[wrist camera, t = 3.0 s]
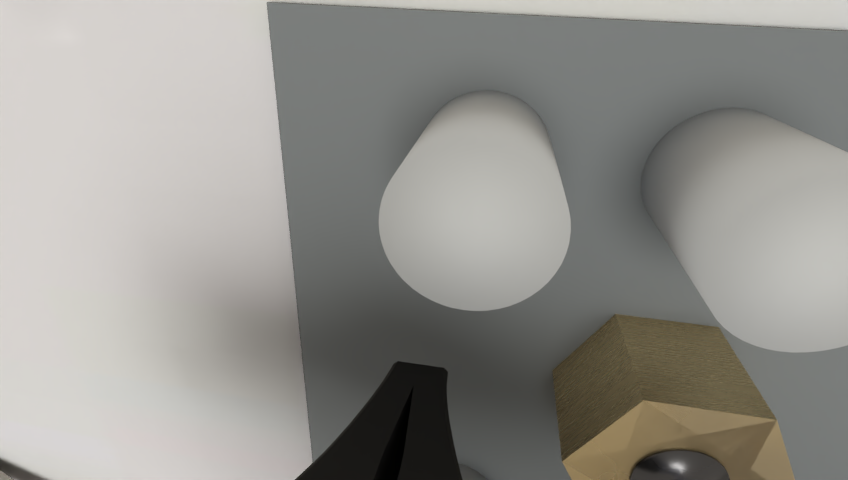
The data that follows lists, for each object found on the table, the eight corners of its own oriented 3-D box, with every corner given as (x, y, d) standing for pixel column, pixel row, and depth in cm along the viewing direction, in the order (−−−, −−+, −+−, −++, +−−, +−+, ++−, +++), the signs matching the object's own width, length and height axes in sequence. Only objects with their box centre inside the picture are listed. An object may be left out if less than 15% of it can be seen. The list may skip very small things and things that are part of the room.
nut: (715, 452, 14) (765, 563, 11) (540, 424, 14) (546, 523, 12) (772, 333, 12) (849, 432, 9) (565, 307, 12) (580, 393, 10)
